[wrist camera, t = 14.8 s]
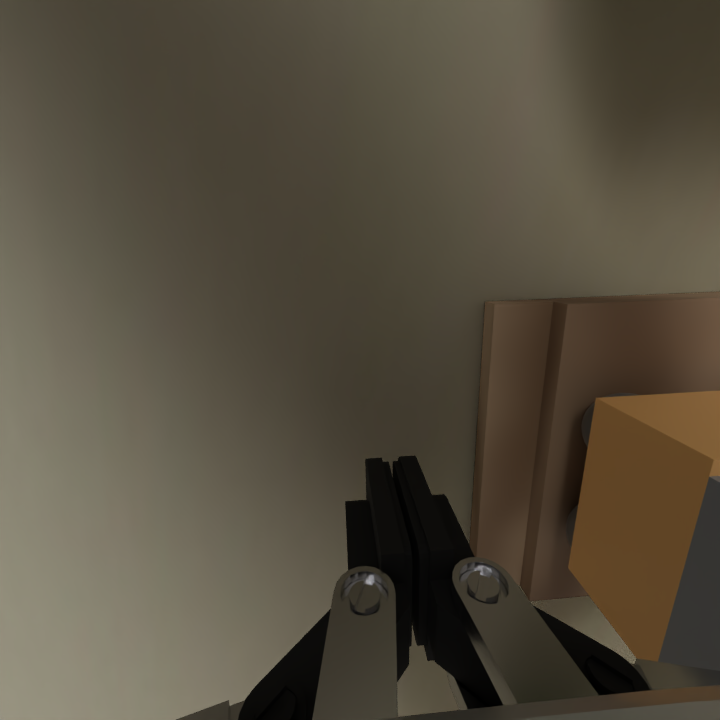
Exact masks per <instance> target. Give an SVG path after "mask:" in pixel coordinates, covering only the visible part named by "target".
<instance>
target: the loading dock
mask: <svg viewBox="0 0 720 720" xmlns="http://www.w3.org/2000/svg"><path fill="white" fill-rule="evenodd" d="M703 391H720V292H698V293H674V294H651V295H628V296H604V297H581V298H557V299H534V300H510V301H487V302H485V313H484V328H483V344H482V359H481V375H480V390H479V406H478V421H477V437H476V452H475V468H474V483H473V499H472V514H471V530H470V545H469V546H470V548H471V550H472V552H473V554H474V556H475V557H480V558H486V559H488V560H491V561H493V562H495V563H497V564H498V565H500V566H501V567H503V568H504V569H505V570H506V571H507V572H508V573H509V574H510V575H511V577H512V578H513V580H514V581H515V582H516V584H517V585H520V586H521V587H522V589H523V591H524V593H525V594H526V596H527V598H528V600H529V601H537V600H548V599H559V598H570V597H580V596H589V595H588V593H587V592H586V591H585V590H584V588H583V587H582V586H581V584H580V583H579V582H578V580H577V579H576V578H575V576H574V575H573V574H572V572H571V571H570V570H569V568H568V565H569V559H570V553H571V547H570V545H569V543H568V540H567V536H566V522H567V518H568V516H569V514H570V512H571V511H572V510H573V508H575V507H576V506H577V505H578V504H579V498H580V492H581V485H582V479H583V473H584V467H585V461H586V455H587V449H588V447H587V445H586V444H585V442H584V439H583V436H582V430H581V424H582V419H583V416H584V414H585V412H586V411H587V409H588V408H589V407H590V406H591V405H592V404H593V403H594V402H595V400H596V398H602V397H605V396H607V395H611V394H617V393H632V394H638V395H653V394H670V393H687V392H703Z"/></svg>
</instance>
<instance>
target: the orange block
mask: <svg viewBox="0 0 720 720" xmlns="http://www.w3.org/2000/svg"><path fill="white" fill-rule="evenodd" d="M581 430H582V436H583V439H584V442H585V444H586V445H587V447H588V449H587V455H586V461H585V467H584V473H583V479H582V485H581V492H580V498H579V504H578V505H577V506H576V507H575V508H573V510H572V511H571V512H570V514H569V516H568V518H567V522H566V536H567V540H568V543H569V545H570V547H571V553H570V559H569V565H568V568H569V570H570V571H571V572H572V574H573V575H574V576H575V578H576V579H577V580H578V582H579V583H580V584H581V586H582V587H583V588H584V590H585V591H586V592H587V593H588V595H589V596H590V597H591V599H592V600H593V601H594V603H595V604H596V605H597V607H598V608H599V609H600V611H601V612H602V613H603V615H604V616H605V617H606V618H607V620H608V621H609V622H610V624H611V625H612V626H613V628H614V629H615V630H616V632H617V633H618V634H619V636H620V637H621V638H622V640H623V641H624V642H625V643H626V645H627V646H628V647H629V649H630V650H631V651H632V653H633V654H634V655H635V657H636V658H637V659H643V660H650V661H657V662H663V663H670V664H677V665H683V666H690V667H697V668H703V669H710V670H717V671H720V391H703V392H687V393H670V394H653V395H638V394H632V393H617V394H611V395H607V396H605V397H602V398H596V400H595V402H594V403H593V404H592V405H591V406H590V407H589V408H588V409H587V411H586V412H585V414H584V416H583V419H582V424H581Z"/></svg>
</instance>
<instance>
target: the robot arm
mask: <svg viewBox="0 0 720 720" xmlns="http://www.w3.org/2000/svg"><path fill="white" fill-rule="evenodd" d="M365 466H366V499H367V500H358V501H345V505H346V528H347V552H348V571H347V572H346V573H344V574H343V575H342V576H341V577H340V579H339V580H338V581H337V583H336V586H335V589H334V593H333V599H332V605H331V609H330V610H329V611H328V612H327V613H326V614H325V615H324V616H323V617H322V618H321V619H320V620H319V621H318V622H317V623H316V624H315V626H314V627H313V628H312V629H311V630H310V631H309V632H308V633H307V634H306V635H305V636H304V637H303V638H302V639H301V640H300V641H299V642H298V643H297V644H296V645H295V646H294V647H293V648H292V649H291V650H290V651H289V652H288V653H287V654H286V655H285V656H284V657H283V659H282V660H281V661H280V662H279V663H278V664H277V665H276V666H275V667H274V668H273V669H272V670H271V671H270V672H269V673H268V674H267V675H266V676H265V677H264V678H263V679H262V680H261V681H260V682H259V683H258V684H257V685H256V686H255V688H254V689H253V690H252V691H251V693H250V694H249V695H248V697H247V698H246V700H244V701H242V702H239V703H236V704H234V705H231V706H230V704H229V700H228V701H225V702H222V703H220V704H217V705H214V706H212V707H209V708H206V709H203V710H201V711H198V712H195V713H193V714H190V715H187V716H185V717H182V718H179V719H176V720H720V671H717V670H710V669H703V668H697V667H690V666H683V665H677V664H670V663H663V662H657V661H650V660H643V659H637V658H636V661H635V664H631V663H629V662H628V661H627V660H626V659H624V658H623V657H621V656H620V655H618V654H617V653H615V652H614V651H612V650H611V649H609V648H607V647H605V646H604V645H602V644H600V643H598V642H597V641H595V640H593V639H591V638H590V637H588V636H586V635H584V634H582V633H581V632H579V631H577V630H575V629H574V628H572V627H570V626H568V625H567V624H565V623H563V622H561V621H560V620H558V619H556V618H554V617H553V616H551V615H549V614H547V613H545V612H544V611H542V610H540V609H538V608H537V607H535V606H533V605H532V604H531V603H530V601H529V600H528V599H527V597H526V596H525V594H524V593H523V592H522V590H521V589H520V588H519V586H518V585H517V584H516V582H515V581H514V580H513V578H512V577H511V575H510V574H509V573H508V572H507V571H506V570H505V569H504V568H503V567H501V566H500V565H498V564H497V563H495V562H493V561H491V560H488V559H486V558H480V557H475V556H474V554H473V552H472V550H471V548H470V546H469V544H468V541H467V539H466V537H465V535H464V533H463V531H462V529H461V527H460V524H459V522H458V520H457V518H456V516H455V514H454V512H453V510H452V508H451V505H450V503H449V501H448V499H447V497H446V496H445V495H444V494H442V495H432V494H431V492H430V489H429V487H428V485H427V482H426V480H425V477H424V475H423V472H422V470H421V468H420V465H419V463H418V460H417V458H416V456H401V457H399V458H398V461H393V477H392V473H391V469H390V466H389V462H383V461H382V458H370V459H366V460H365ZM412 626H413V630H414V635H415V640H416V643H417V645H418V646H419V645H424V647H425V652H426V656H427V660H428V661H430V660H435V662H436V663H437V664H438V665H440V666H441V667H442V668H443V669H445V670H446V671H447V677H448V680H449V684H450V687H451V690H452V692H453V695H454V697H455V700H456V702H457V705H458V707H459V710H457V711H448V712H439V713H430V714H420V715H411V716H403V717H398V701H397V682H398V680H399V679H400V677H401V676H402V674H403V673H404V671H405V670H406V668H407V667H408V665H409V646H411V637H412Z"/></svg>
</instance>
